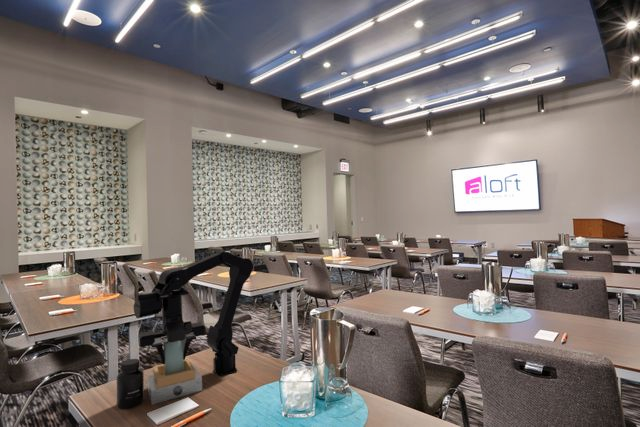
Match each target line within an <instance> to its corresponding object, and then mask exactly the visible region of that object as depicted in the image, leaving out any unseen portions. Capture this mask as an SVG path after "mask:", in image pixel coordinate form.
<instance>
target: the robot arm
mask: <svg viewBox="0 0 640 427" xmlns="http://www.w3.org/2000/svg"><path fill="white" fill-rule="evenodd" d="M221 265H223V266H225V267H227V268H229V269H228V276H229V282H228V287H227V289H226V290H227V291H226V293H225V295H224V296H225V297H224V301H223V304H222V307H221V309H220V313H219V317H218V320H217V322H216V323H215V325H209V328H208V333H207V328H206V326H205V325H204V324H203V323H202V322H200V321H199V322H194V323H192V321H191V320H189V321H185V322H184V320H183V297H182V296H186V295H189V292H188V291H187V290H186V289H185V288H184V286H185V285H187V284H188V283H189V282H190V281H191V280H192V279H193V278H195V277H197V276H199V275H202V274H203V273H205V272H207V271H211V269H215V268H216V267H219V266H221ZM253 270H254V263H253V261H252V259H250V258H247V257H241V256H237V255H234V254H233V253H230V252H228V251H227V250H218V251H216V252H215V253H213V254H211V255H208V256H206V257H204V258H202V259H199V260H197V261H194V262H191V263H190V264H188V265H183V266H180V267H173V268H170V269H166V270H163V271H162V272H161V273H160V275H159V276H158V281H157V283H156V284H155V286H154V287H153V289H152V290H151V292H148V293H147V292H146V293H138V294H136V295H135V300H134V303H133V312H134V314H133V315H134V316H135V319H140V318H146V317H151V316H155V315H159V314H160V313H161V316H162V318H161V321H162V322H161V323H162V332H157V333H154V330H150V331H144V332H139V334H138V344H139V348H144V347H150V348H155V349H156V351H157V352H158V354H159V358H160V360H161V362H162V365H163V364H165V359H164V344H163V342H162V340H163V339H164V340H165V339H167V340H168V342H170V343H172V342H174V341H179V340H180V341H182V340H183V360H185V359H186V357H187V354H188V350H189V348H190V344H191V343H192V342H193V340H195V339H196V338H197V337H200V336H205V335H206V336H205V338H206V344H207V345H208V347H209V348H210V349H211V350H212V352H214V357H213V359H212V363H213V372H214V373H216V374H217V376H219V377H221V376H225V375H228V374H232V373H236V372H238V369H237V367H236V355H237V354H238V352H239V346H237V345H236V344H235V343H234V342H233V327H232V326H233V322H234V318H235V314H236V310H237V307H238V304H239V301H240V297H241V294H242V291H243V287H244V284H245V283H246V282H247V281H248V279H249V278H250V277H251V274H252V272H253Z"/></svg>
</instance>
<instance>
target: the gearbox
mask: <svg viewBox="0 0 640 427" xmlns="http://www.w3.org/2000/svg"><path fill="white" fill-rule="evenodd" d="M152 368H153V370H152V372H153V373H151V374H147V375H146V384H147V385H146V386H147V391H148V396H149V400H150V404H151V405H155V404H158V403H163V402H167V401H169V400H173V399H177V398H181V397H184V396H188V395H191V394H192V395H193V394H196V393H199V392H202V391H203V377H202V375H201V374H200V372H199V370H198V369H197V368H196V366H195V364H192V362H191V361H190V359H189V358H185V360H184V371H183V372H179V373H174V374H170V375H166V376H165V372H164V364H163V363H162V364H159V365H154V366H153V367H152Z"/></svg>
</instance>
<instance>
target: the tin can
mask: <svg viewBox="0 0 640 427" xmlns="http://www.w3.org/2000/svg"><path fill="white" fill-rule="evenodd" d="M163 353H164V359H165V364H164V372H165V376H166V375H170V374H174V373H179V372H183V371H184V360H183V340H182V341H180V340H179V341H174V342H172V343H170V342H168V340H167V338H165V339H164V341H163Z"/></svg>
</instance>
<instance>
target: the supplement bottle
mask: <svg viewBox="0 0 640 427" xmlns="http://www.w3.org/2000/svg"><path fill="white" fill-rule="evenodd" d="M140 367H141V364H140V359H138V358H130V359H126V360H123V361H122V362H120V372H118V374H117V375H116V407H117V408H118V409H119V410H132V409H134V408H137V407H139V406H141V405H142V403H144V398H145V395H144V394H145V393H144V390H145V389H144V388H145V387H144V386H145V385H144V384H145V382H144V380H145V379H144V377H145V376H144V370H143V369H142V368H140Z"/></svg>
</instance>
